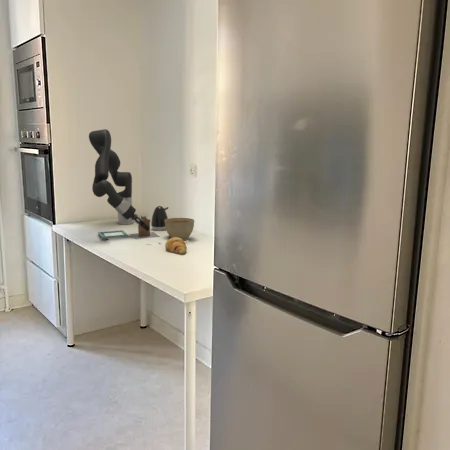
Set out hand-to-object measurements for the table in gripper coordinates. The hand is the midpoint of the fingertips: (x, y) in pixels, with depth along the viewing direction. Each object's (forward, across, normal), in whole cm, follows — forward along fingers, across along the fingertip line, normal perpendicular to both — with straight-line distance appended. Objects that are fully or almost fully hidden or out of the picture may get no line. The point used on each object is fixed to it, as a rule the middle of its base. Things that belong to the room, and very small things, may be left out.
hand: (147, 228), depth 249 cm
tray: (-9, +8, +16) cm, 20 cm away
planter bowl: (+14, -13, -7) cm, 20 cm away
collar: (+1, 0, +4) cm, 4 cm away
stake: (+2, 0, +5) cm, 5 cm away
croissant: (+7, -35, 0) cm, 36 cm away
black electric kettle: (+12, +13, -4) cm, 18 cm away
